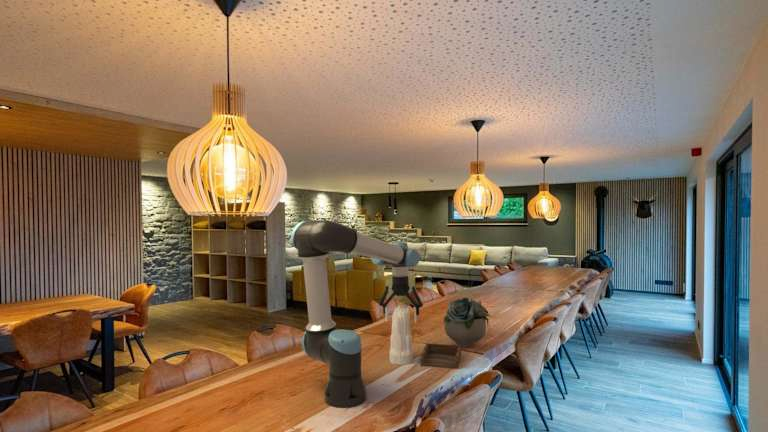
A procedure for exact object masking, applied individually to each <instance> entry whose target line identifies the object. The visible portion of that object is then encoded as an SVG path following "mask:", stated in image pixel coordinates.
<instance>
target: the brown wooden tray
mask: <svg viewBox="0 0 768 432" xmlns="http://www.w3.org/2000/svg"><path fill="white" fill-rule="evenodd" d="M461 359H462V347H461V346H459V345H457V344H456V345H454V344H441V343H425V346H424V348H423V349H422V351H421V353H420V367H432V368H442V369H443V368H447V369H457V370H458V369H459V368H460V363H461Z"/></svg>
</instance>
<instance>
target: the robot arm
mask: <svg viewBox="0 0 768 432" xmlns="http://www.w3.org/2000/svg"><path fill="white" fill-rule="evenodd" d="M290 242H291V244H292V246H293V247H294V248H295V249H296V250H297V256H298V257H297V258H298V259H300V260H301V261H302V264H303V275H304V277H303V278H304V285H305V294H306V304H307V305H306V306H307V317H308V323H307V325H305V331H304V333H303V336H302V338H301V348H302V350H303V352H304V353H305V355H307V356H308V357H309V358H311V359H313V360H316V361H319V362H321V363H324V364H326V365H328V379H327V383H326V386H325V390H324V395H323V397H324V402H325V403H326V405H329V406H332V407H337V408H350V407H353V406H355V407H356V406H357V405H358V406H359V405H361V404H363V403H364V402H365V401H366V400H367V389H366V385H365V383H364V381H363V377H362V346H363V345H362V341H361V336H360V334H359V333H358V332H356V331H354V330H351V329H339V328H338V329H337V322H335V321H334V320H333V319H332V312H331V301H330V300H331V299H330V292H329V280H328V272H327V271H328V270H327V263H326V262H327V261H326V258H327V257H328V256H329V255H330V253H341V254H342V253H343V254H351V253H354V254H356V255H361V256H365V257H369V258H370V260H371V262H372V264H373V265H375V266H383V265H384V266H391V275H392V277H391V279H392V284H391V286H390V285H386V286H385V288H384V289H385V291H384V293H383V294H382V297H381V299H380V300H379V301H380V302H379V303H378V306H381V307H382V311H383V314H384V315H385V316H384V317H385V319H384V320H385V323H387V322H389V306H388V305H389V303H390V302H391V301H392V300H393V298H394V297H396V296H397V297H406V298H407V299H408V300H409V301H410V303H412V305H413V306H414V308H413V310H414V311H413V315H414V316H413V317H414V324H417V323H418V316H419V315H420V308H422V307H424V304H423V301H422V299H421V298H420V296H419V294H418V292H417V288H416V287H417V286H415V285H413V286H410V285H409V284H410V283H409V281H410V280H409V276H408V275H409V268H414V267H416V266H417V265H418V264H419V262H420V259H421V258H420V253H419V251H418V250H417V249H416V248H415V249H414V248H408V247H409V246H408V245H409V244H408V243H407V242H405V241H393V242H392V243H391V242H387V241H384V240H380V239H378V238H375V237H372V236H368V235H365V234H362V233H360V232H358V231H357V230H356V229H355V228H352V227H350V226H346V225H344V224H341V223H339V222H336V221H333V220H330V219H329V220H328V219H321V220H320V219H319V220H317V219H315V220H314V219H313V220H310V219H308V220H303V221H300V222H299V223H297V224H296V225H294V227H293V229H292V232H291V234H290ZM389 291H392V293H391V295H390V296H389V297H388V294H389ZM409 291H411V292H412V295H414V298H415V299H414V298H413V296H412V295H411V293H410V292H409ZM387 297H388V299H387V300H386V298H387ZM385 300H386V301H385Z"/></svg>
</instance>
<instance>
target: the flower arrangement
mask: <svg viewBox="0 0 768 432" xmlns="http://www.w3.org/2000/svg"><path fill="white" fill-rule="evenodd" d="M487 317H489V318H491V315H490V314H489V312H488V310H487V309H486V307H485V306H483V305H482V301H481V300H478V301H476V300H474V299H473V298H472V297H463V298H458V299H455V300H452V301H450V302H449V303H448V305H447V310H446V315H445V316H443V324H444V332H445V334H446V336H447V337H448V338H449V339H451V340H452V341H454V342H455V343H456V345H459V346H461V348H473V346H475V343H478V342H479V341H481V340H482V339H483V338H484V337H485V334H486V331H487V326H489V320H490V319H489V318H487Z"/></svg>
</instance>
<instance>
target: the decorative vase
mask: <svg viewBox="0 0 768 432" xmlns="http://www.w3.org/2000/svg"><path fill="white" fill-rule="evenodd" d="M410 312H411V311H410V308H409V307H407V308H406V307H404V305H402V306H401V304H398V305H397V307H395V309H394V311H393V313H392V317H391V333H390V348H389V354H388V355H389V362H390V363H391V364H393V365H398V366H400V365H401V366H404V365H406V366H407V365H410V364H412V363H413V362H414V351H413V340H412V338H413V336H412V333H411V324H410V323H411V321H410V320H411V319H410V316H411V313H410Z"/></svg>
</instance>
